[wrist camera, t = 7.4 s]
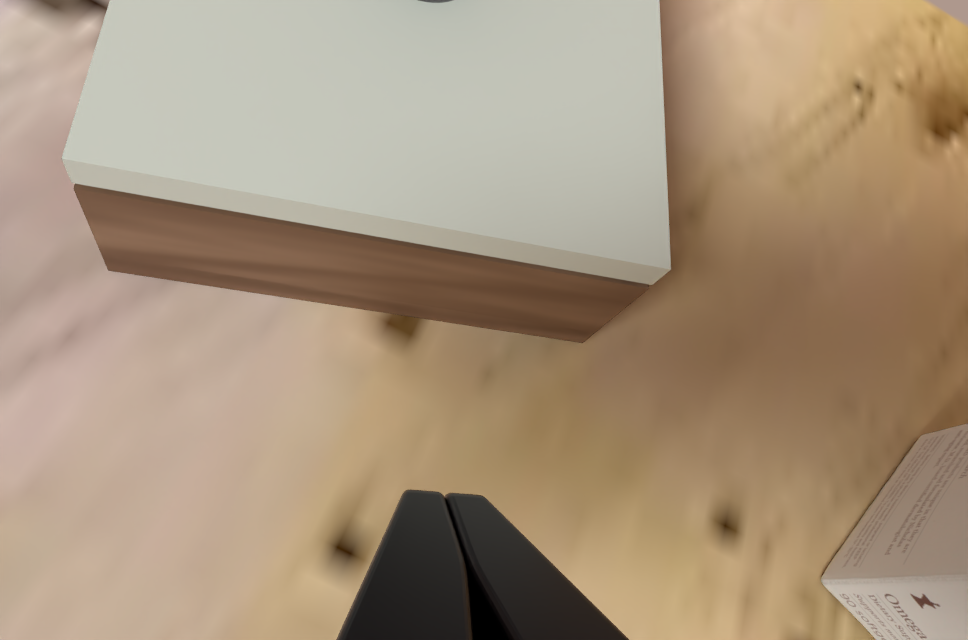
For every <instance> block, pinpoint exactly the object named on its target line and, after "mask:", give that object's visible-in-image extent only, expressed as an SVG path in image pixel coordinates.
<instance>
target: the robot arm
mask: <svg viewBox="0 0 968 640" xmlns="http://www.w3.org/2000/svg"><path fill="white" fill-rule="evenodd" d="M336 640H629V639H628V638H627V637H626V636H625V635H624V634H623V633H622V632H621V631H620V630H619V629H618V628H617V627H616V626H615V625H614V624H613V623H612V622H611V621H610V620H609V619H608V618H607V617H606V616H605V615H604V614H603V613H602V612H601V611H600V610H599V609H598V608H597V607H596V606H595V605H594V604H593V603H592V602H591V601H590V600H588V599H587V598H586V597H585V596H584V595H583V594H582V593H581V592H580V591H579V590H578V589H577V588H576V587H575V586H574V585H573V584H572V583H571V582H570V581H569V580H568V579H567V578H566V577H565V576H564V575H563V574H562V573H561V572H560V571H559V570H558V569H557V568H556V567H555V566H554V565H553V564H552V563H551V562H550V561H549V560H548V559H547V558H546V557H545V556H544V555H543V554H542V553H541V552H540V551H539V550H538V549H537V548H536V547H535V546H534V545H533V544H532V543H531V542H530V541H529V540H528V539H527V538H526V537H525V536H524V535H523V534H522V533H521V532H520V531H519V530H518V529H517V528H516V527H515V526H514V525H513V524H512V523H510V522H509V521H508V520H507V519H506V518H505V517H504V516H503V515H502V514H501V513H500V512H499V511H498V510H497V509H496V508H495V507H494V506H493V505H492V504H491V503H490V502H489V501H488V500H487V499H486V498H485V497H483V496H481V495H473V494H459V493H448V494H446V495H445V496H443V495H442V494H441V493H439V492H434V491H421V490H406V491H405V492H404V493H403V494H402V496H401V498H400V501H399V503H398V505H397V507H396V509H395V512H394V514H393V516H392V518H391V520H390V523H389V525H388V527H387V529H386V532H385V534H384V536H383V538H382V540H381V543H380V545H379V547H378V549H377V551H376V554H375V556H374V558H373V560H372V562H371V565H370V567H369V569H368V571H367V573H366V576H365V578H364V580H363V582H362V584H361V587H360V589H359V591H358V593H357V595H356V598H355V600H354V602H353V604H352V606H351V609H350V611H349V613H348V615H347V617H346V620H345V622H344V624H343V626H342V628H341V631H340V633H339V635H338V637H337V639H336Z"/></svg>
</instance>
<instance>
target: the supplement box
mask: <svg viewBox="0 0 968 640" xmlns="http://www.w3.org/2000/svg"><path fill="white" fill-rule="evenodd" d="M821 582H822V584H823V585H824V587H826V588H827V589H828V590H829V591H830V592H831V593H832V594H833V595H834V596H835V597H836V598H837V599H838V600H839V601H840V602H841V603H842V604H843V605H844V606H845V607H846V608H847V609H848V610H849V611H850V613H851V614H852V615H853V616H854V617H855V618H856V619H857V620H858V621H859V622H860V623H861V624H862V625H863V626H864V627H865V628H866V629H867V630H868V631H869V632H870V634H871V635H872V636H873V637H874V638H875V639H876V640H968V423H967V424H963V425H959V426H955V427H951V428H947V429H944V430H940V431H936V432H932V433H928V434H924V435H921V436H920V437H919V439H918V440H917V441H916V443H915V444H914V445H913V447H912V448H911V450H910V451H909V452H908V454H907V455H906V456H905V457H904V459H903V461H902V462H901V463H900V465H899V466H898V468H897V469H896V471H895V472H894V473H893V475H892V476H891V478H890V479H889V480H888V482H887V483H886V484H885V485H884V487H883V488H882V490H881V491H880V493H879V494H878V496H877V497H876V499H875V500H874V501H873V503H872V504H871V505H870V507H869V508H868V510H867V511H866V512H865V514H864V515H863V517H862V518H861V520H860V521H859V522H858V524H857V526H856V527H855V528H854V530H853V531H852V532H851V534H850V535H849V536H848V538H847V539H846V541H845V542H844V544H843V545H842V547H841V548H840V550H839V551H838V552H837V554H836V555H835V556H834V558H833V559H832V561H831V562H830V564H829V565H828V567H827V569H826V570H825V572H824V574H823V575H822V577H821Z"/></svg>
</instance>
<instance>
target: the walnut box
mask: <svg viewBox="0 0 968 640" xmlns="http://www.w3.org/2000/svg"><path fill="white" fill-rule="evenodd" d="M74 191H75V193H76V195H77V198H78V200H79V202H80V205H81V207H82V209H83V212H84V214H85V217H86V219H87V221H88V224H89V226H90V228H91V231H92V233H93V235H94V238H95V240H96V242H97V245H98V247H99V250H100V252H101V254H102V257H103V259H104V261H105V264H106V266H107V268H108V270H109V271H115V272H122V273H128V274H135V275H141V276H148V277H155V278H161V279H168V280H174V281H181V282H187V283H194V284H200V285H207V286H214V287H220V288H227V289H233V290H240V291H246V292H253V293H259V294H266V295H273V296H279V297H286V298H292V299H299V300H305V301H312V302H318V303H325V304H332V305H338V306H345V307H351V308H358V309H364V310H371V311H377V312H384V313H391V314H397V315H404V316H410V317H417V318H423V319H430V320H436V321H443V322H450V323H456V324H463V325H469V326H476V327H482V328H489V329H496V330H502V331H509V332H515V333H522V334H528V335H535V336H541V337H548V338H555V339H561V340H568V341H574V342H581V343H583V342H584V341H585V340H586V339H588V338H589V337H590V336H591V335H593V334H594V333H595V332H596V331H597V330H599V329H600V328H601V327H602V326H604V325H605V324H606V323H607V322H608V321H610V320H611V319H612V318H613V317H615V316H616V315H617V314H618V313H620V312H621V311H622V310H623V309H624V308H626V307H627V306H628V305H629V304H631V303H632V302H633V301H634V300H635V299H637V298H638V297H639V296H640V295H642V294H643V293H644V292H645V291H646V290H648V289H649V284H644V283H638V282H632V281H627V280H621V279H615V278H610V277H604V276H598V275H593V274H587V273H581V272H575V271H570V270H564V269H558V268H553V267H547V266H541V265H536V264H530V263H524V262H519V261H513V260H507V259H502V258H496V257H490V256H484V255H479V254H473V253H467V252H462V251H456V250H450V249H445V248H439V247H433V246H428V245H422V244H416V243H411V242H405V241H399V240H393V239H388V238H382V237H376V236H371V235H365V234H359V233H354V232H348V231H342V230H337V229H331V228H325V227H320V226H314V225H308V224H302V223H297V222H291V221H285V220H280V219H274V218H268V217H263V216H257V215H251V214H246V213H240V212H234V211H229V210H223V209H217V208H211V207H206V206H200V205H194V204H189V203H183V202H177V201H172V200H166V199H160V198H155V197H149V196H143V195H137V194H132V193H126V192H120V191H115V190H109V189H103V188H98V187H92V186H86V185H81V184H75V185H74Z"/></svg>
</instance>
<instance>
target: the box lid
mask: <svg viewBox="0 0 968 640" xmlns="http://www.w3.org/2000/svg"><path fill="white" fill-rule="evenodd" d="M62 161H63V163H64V166H65V168H66V170H67V173H68V175H69V177H70V180H71V182H72V183H75V184H81V185H86V186H92V187H98V188H103V189H109V190H115V191H120V192H126V193H132V194H137V195H143V196H149V197H155V198H160V199H166V200H172V201H177V202H183V203H189V204H194V205H200V206H206V207H211V208H217V209H223V210H229V211H234V212H240V213H246V214H251V215H257V216H263V217H268V218H274V219H280V220H285V221H291V222H297V223H302V224H308V225H314V226H320V227H325V228H331V229H337V230H342V231H348V232H354V233H359V234H365V235H371V236H376V237H382V238H388V239H393V240H399V241H405V242H411V243H416V244H422V245H428V246H433V247H439V248H445V249H450V250H456V251H462V252H467V253H473V254H479V255H484V256H490V257H496V258H502V259H507V260H513V261H519V262H524V263H530V264H536V265H541V266H547V267H553V268H558V269H564V270H570V271H575V272H581V273H587V274H593V275H598V276H604V277H610V278H615V279H621V280H627V281H632V282H638V283H644V284H649V285H653V284H654V283H655V282H656V281H658V280H659V279H660V278H661V277H663V276H664V275H665V274H666V273H667V272H669V271H670V270H671V257H670V234H669V211H668V188H667V165H666V141H665V118H664V95H663V72H662V49H661V26H660V3H659V0H110V2H109V5H108V9H107V12H106V15H105V18H104V22H103V25H102V28H101V31H100V35H99V38H98V41H97V44H96V48H95V51H94V54H93V57H92V61H91V64H90V67H89V71H88V74H87V77H86V80H85V84H84V87H83V90H82V93H81V97H80V100H79V103H78V106H77V110H76V113H75V116H74V119H73V123H72V126H71V129H70V133H69V136H68V139H67V142H66V146H65V149H64V152H63V155H62Z"/></svg>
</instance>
